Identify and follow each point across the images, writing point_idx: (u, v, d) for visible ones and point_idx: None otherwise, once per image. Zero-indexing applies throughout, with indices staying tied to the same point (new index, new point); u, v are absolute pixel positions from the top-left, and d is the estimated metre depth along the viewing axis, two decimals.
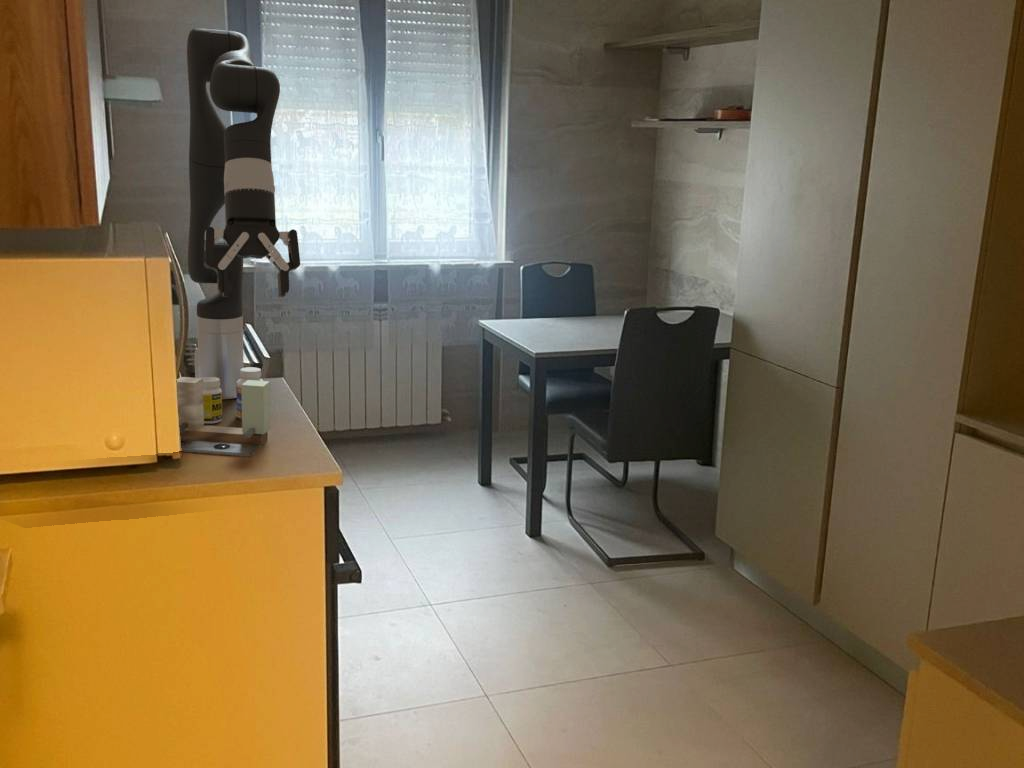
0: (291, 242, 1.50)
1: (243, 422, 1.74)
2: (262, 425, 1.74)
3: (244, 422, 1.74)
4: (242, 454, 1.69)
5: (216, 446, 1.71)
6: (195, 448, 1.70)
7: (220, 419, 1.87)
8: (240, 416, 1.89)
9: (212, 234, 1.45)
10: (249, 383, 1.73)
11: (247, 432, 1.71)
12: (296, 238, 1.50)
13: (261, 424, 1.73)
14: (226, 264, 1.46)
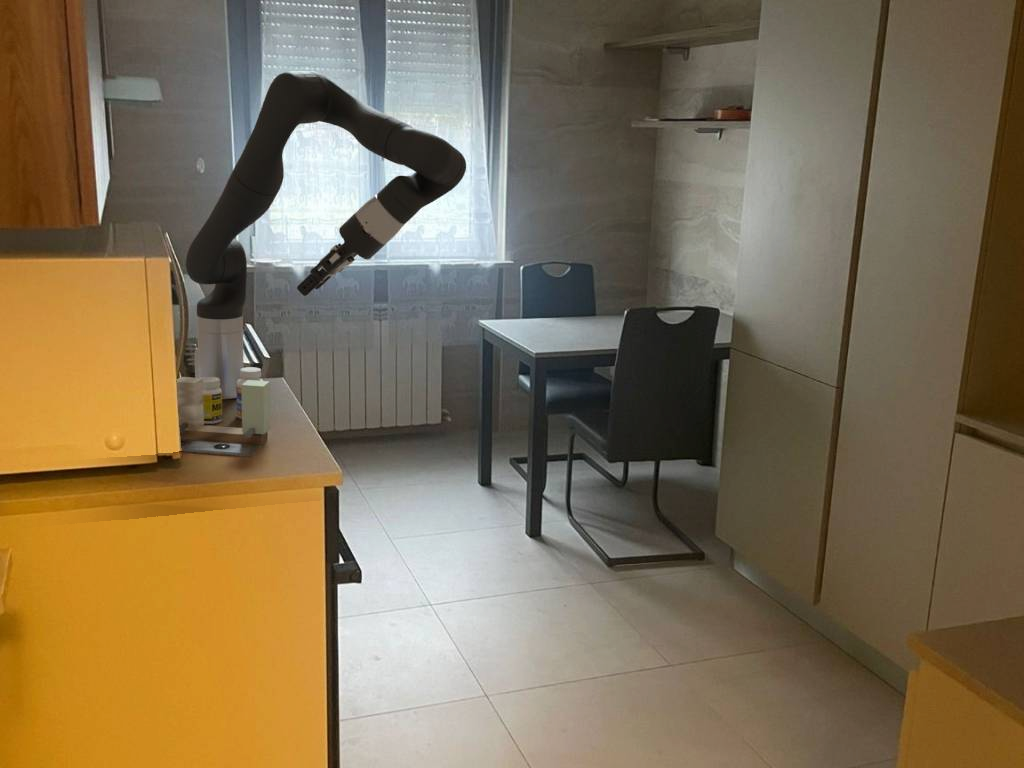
0: None
1: (243, 422, 1.74)
2: (262, 425, 1.74)
3: (244, 422, 1.74)
4: (242, 454, 1.69)
5: (216, 446, 1.71)
6: (195, 448, 1.70)
7: (220, 419, 1.87)
8: (240, 416, 1.89)
9: (339, 263, 1.65)
10: (249, 383, 1.73)
11: (247, 432, 1.71)
12: None
13: (261, 424, 1.73)
14: (324, 279, 1.68)
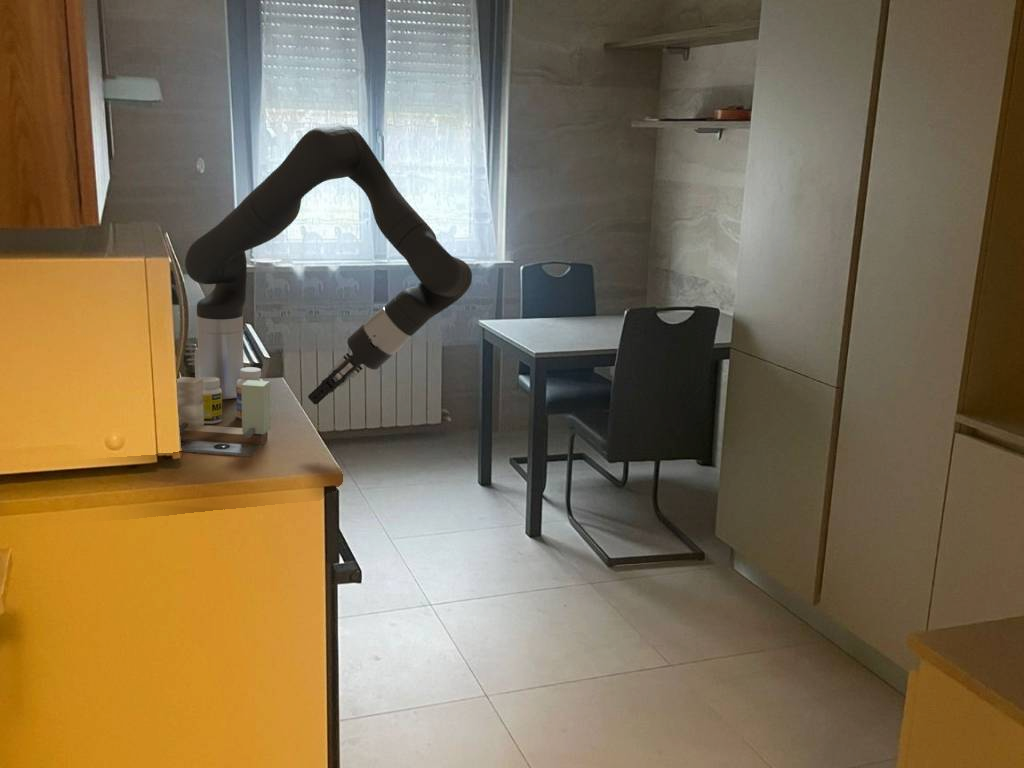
0: None
1: (243, 422, 1.74)
2: (262, 425, 1.74)
3: (244, 422, 1.74)
4: (242, 454, 1.69)
5: (216, 446, 1.71)
6: (195, 448, 1.70)
7: (220, 419, 1.87)
8: (240, 416, 1.89)
9: None
10: (249, 383, 1.73)
11: (247, 432, 1.71)
12: None
13: (261, 424, 1.73)
14: None
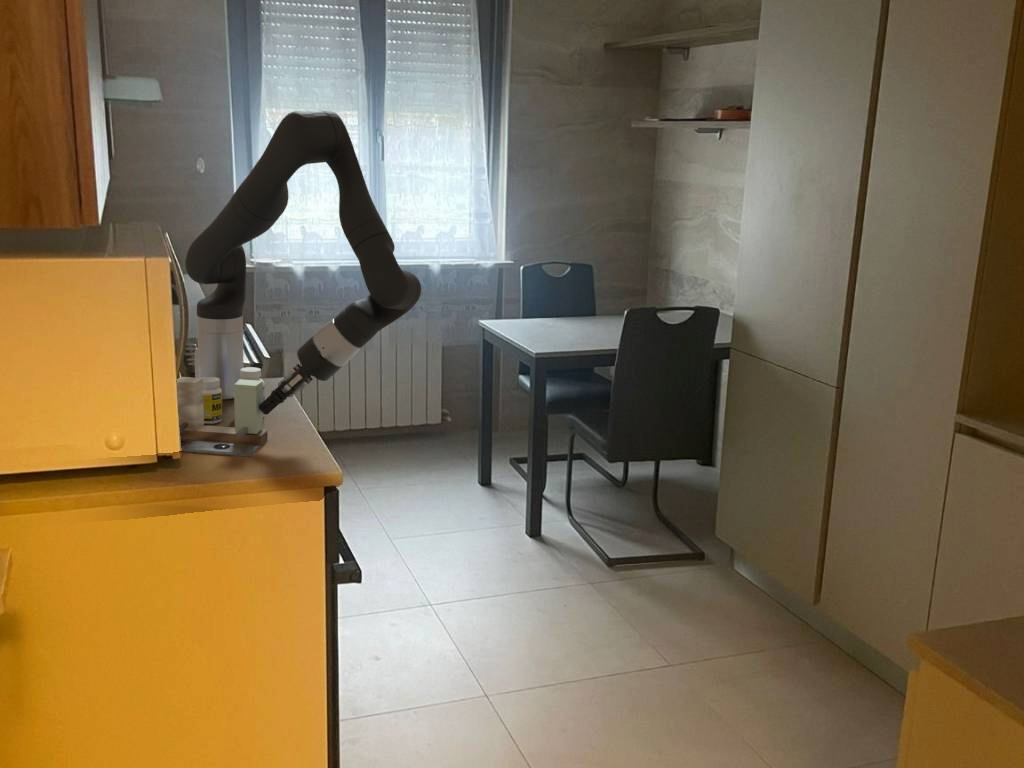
0: None
1: (235, 421, 1.74)
2: (255, 425, 1.74)
3: (237, 421, 1.74)
4: (242, 454, 1.69)
5: (216, 446, 1.71)
6: (195, 448, 1.70)
7: (220, 419, 1.87)
8: None
9: None
10: (242, 382, 1.73)
11: (240, 431, 1.71)
12: None
13: (254, 423, 1.74)
14: None
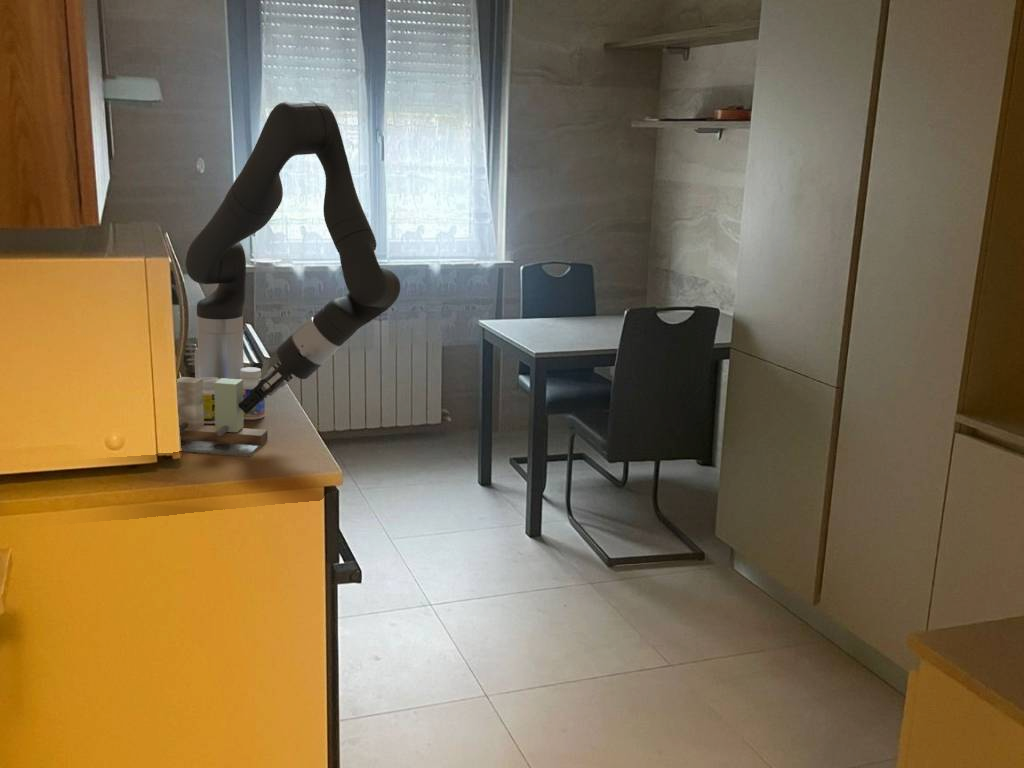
0: None
1: (216, 420, 1.74)
2: (235, 423, 1.74)
3: (217, 420, 1.74)
4: (242, 454, 1.69)
5: (216, 446, 1.71)
6: (195, 448, 1.70)
7: None
8: None
9: None
10: (222, 381, 1.73)
11: (220, 430, 1.71)
12: None
13: (234, 422, 1.74)
14: None
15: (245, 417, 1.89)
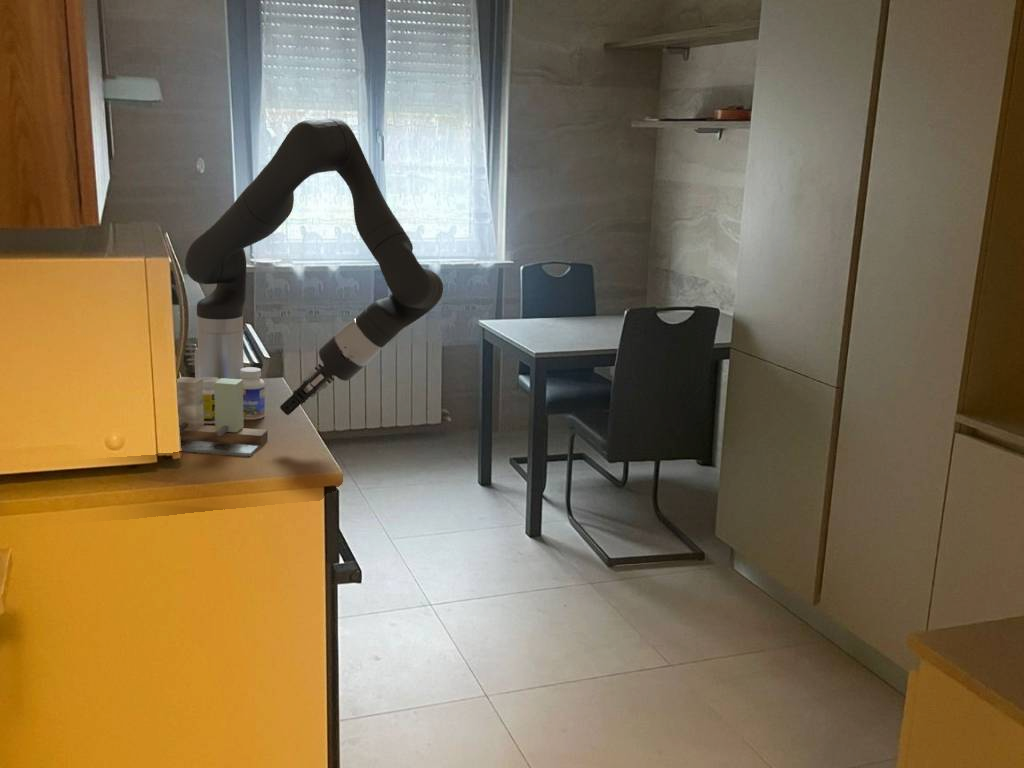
0: None
1: (216, 420, 1.74)
2: (235, 423, 1.74)
3: (217, 420, 1.74)
4: (242, 454, 1.69)
5: (216, 446, 1.71)
6: (195, 448, 1.70)
7: None
8: None
9: None
10: (222, 381, 1.73)
11: (220, 430, 1.71)
12: None
13: (234, 422, 1.74)
14: None
15: (245, 417, 1.89)
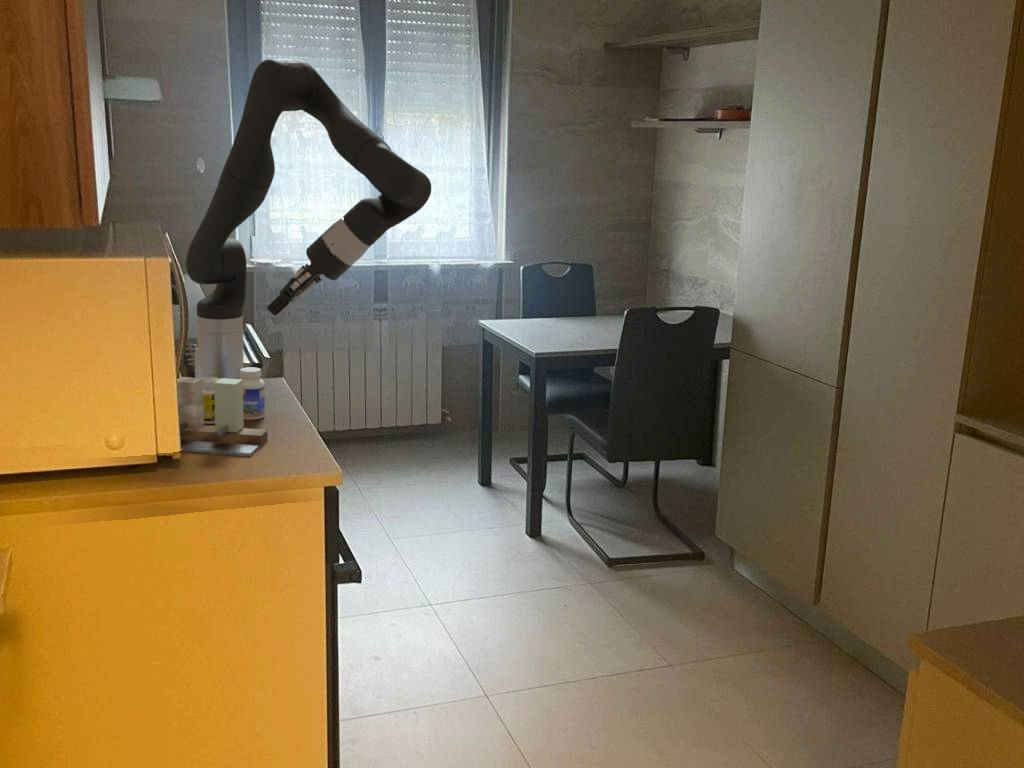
0: None
1: (216, 420, 1.74)
2: (235, 423, 1.74)
3: (217, 420, 1.74)
4: (242, 454, 1.69)
5: (216, 446, 1.71)
6: (195, 448, 1.70)
7: None
8: None
9: None
10: (222, 381, 1.73)
11: (220, 430, 1.71)
12: None
13: (234, 422, 1.74)
14: None
15: (245, 417, 1.89)
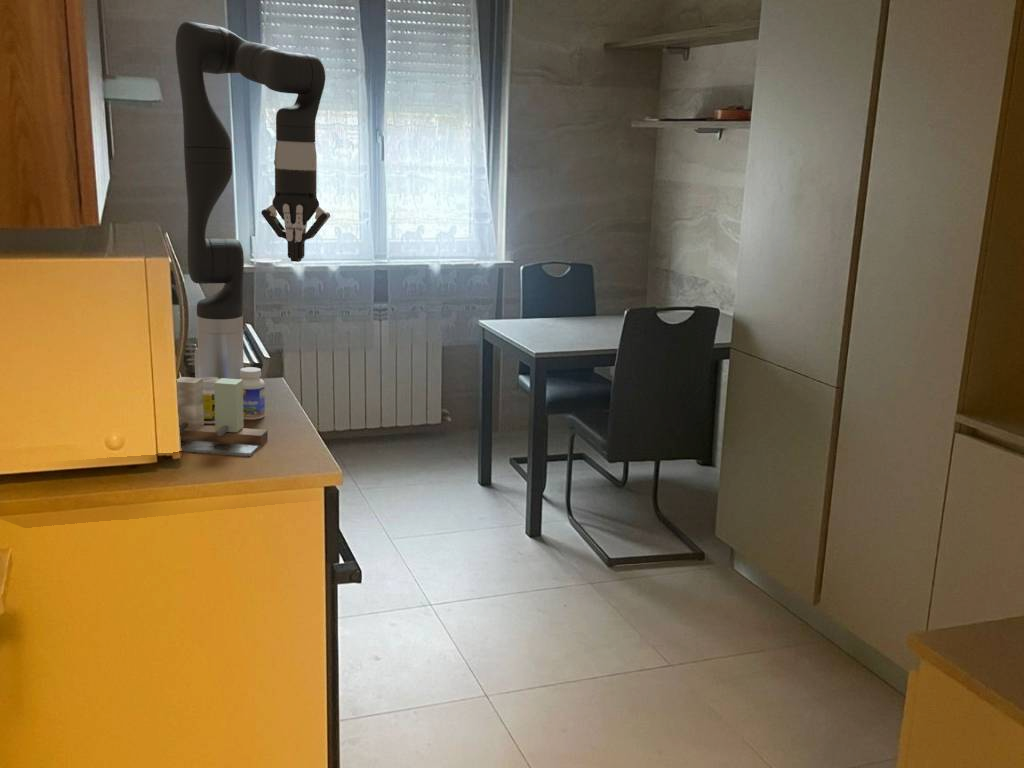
0: (317, 220, 1.78)
1: (216, 420, 1.74)
2: (235, 423, 1.74)
3: (217, 420, 1.74)
4: (242, 454, 1.69)
5: (216, 446, 1.71)
6: (195, 448, 1.70)
7: None
8: None
9: (267, 214, 1.78)
10: (222, 381, 1.73)
11: (220, 430, 1.71)
12: (322, 221, 1.78)
13: (234, 422, 1.74)
14: (291, 234, 1.79)
15: (245, 417, 1.89)
